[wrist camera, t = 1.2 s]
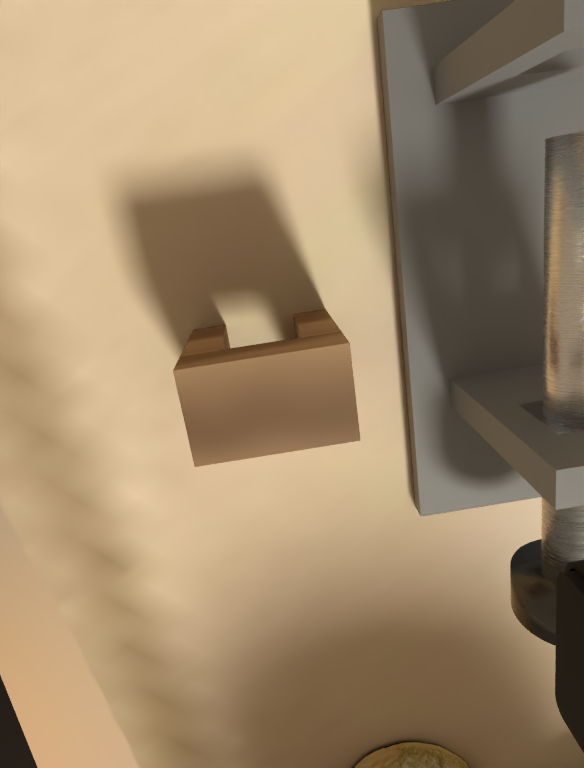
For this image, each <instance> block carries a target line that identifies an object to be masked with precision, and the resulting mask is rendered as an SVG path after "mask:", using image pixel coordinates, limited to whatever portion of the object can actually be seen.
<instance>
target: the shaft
mask: <svg viewBox="0 0 584 768" xmlns="http://www.w3.org/2000/svg"><path fill="white" fill-rule="evenodd" d="M543 423H544V424H545V425H546V426H548V427H549V428H551V429H552V430H553V431H555V432H556V433H557V434H563V433H569V432H576V431H582V430H584V131H582V132H576V133H571V134H566V135H560V136H556V137H551V138H547V139H545V184H544V307H543ZM578 560H584V505H583V506H577V507H571V508H565V509H559V510H555V509H554V508H553V507H552V506H551V505H550V504H549V503H548V502H547V501H546V500H545V499H544V498H543V497H542V539H541V540H536V541H533V542H530V543H528V544H525V545H524V546H522V547H520V548H519V549H518V550H517V551H516V552H515V553H514V555H513V557H512V559H511V605H512V609H513V612H514V614H515V615H516V617H517V619H518V620H519V621H520V623H521V624H522V625H523V626H524V627H525V628H526V629H528V630H529V631H530V632H531V633H533V634H534V635H535V636H537V637H539V638H540V639H542V640H544V641H546V642H548V643H550V644H553V645H555V646H556V590H557V576H558V574H559V573H563V572H565V566H566V565H567V563H569V562H572V561H578Z"/></svg>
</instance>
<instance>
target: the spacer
mask: <svg viewBox="0 0 584 768" xmlns="http://www.w3.org/2000/svg"><path fill="white" fill-rule="evenodd" d="M294 320H295V327H296V334H297V338H295V339H289V340H282V341H276V342H269V343H263V344H257V345H250V346H244V347H237V348H231V349H230V345H229V340H228V334H227V329H226V325H222V326H216V327H209V328H203V329H197V330H193V332H192V334H191V336H190V338H189V340H188V342H187V344H186V346H185V348H184V350H183V352H182V354H181V356H180V358H179V360H178V362H177V364H176V366H175V368H174V370H173V372H174V377H175V381H176V386H177V390H178V394H179V399H180V403H181V408H182V412H183V417H184V421H185V426H186V430H187V434H188V439H189V443H190V448H191V452H192V457H193V461H194V466H195V467H197V466H204V465H210V464H216V463H222V462H229V461H235V460H241V459H247V458H254V457H260V456H266V455H272V454H279V453H285V452H291V451H297V450H304V449H310V448H316V447H322V446H328V445H335V444H341V443H347V442H353V441H360V432H359V423H358V414H357V406H356V397H355V388H354V379H353V370H352V361H351V352H350V343H349V342H348V340H347V339H346V337H345V336H344V335H343V333H342V332H341V330H340V329H339V328H338V326H337V325H336V323H335V322H334V321H333V319H332V318H331V316H330V315H329V314H328V312H327V311H326V309H325V310H319V311H312V312H306V313H300V314H294Z"/></svg>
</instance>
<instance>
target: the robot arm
mask: <svg viewBox="0 0 584 768" xmlns="http://www.w3.org/2000/svg"><path fill="white" fill-rule="evenodd" d="M555 696H556V701H557V705H558V708H559V711H560V713H561V716H562V718H563V719H564V721H565V723H566V725H567V726H568V728H569V730H570V731H571V733H572V734H573V736H574V738H575V739H576V741H577V743H578V744H579V746H580V747H581V749H582V751H583V752H584V560H578V561H572V562H569V563H567V565H566V566H565V572H563V573H559V574H558V576H557V590H556V674H555ZM0 768H37V765H36V763H35V760H34V758H33V755H32V753H31V751H30V748H29V746H28V743H27V741H26V738H25V736H24V733H23V731H22V728H21V726H20V723H19V721H18V718H17V716H16V713H15V711H14V709H13V706H12V703H11V701H10V698H9V696H8V693H7V691H6V688H5V686H4V684H3V681H2V679H1V676H0Z"/></svg>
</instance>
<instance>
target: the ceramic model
mask: <svg viewBox="0 0 584 768" xmlns="http://www.w3.org/2000/svg"><path fill="white" fill-rule="evenodd" d="M354 768H469V767H468V765H467V764H466V762H465V761H464V760H462V759H461V758H460V757H458V756H457V755H455V754H454V753H451V752H450V751H448V750H447V749H444V748H442V747H440V746H436V745H432V744H427V743H416V742H411V743H408V742H407V743H400V744H397V745H393V746H390V747H387V748H382V749H380V750H377V751H375V752H373V753H371V754H370V755H368V756H366V757H365V758H364V759H362V760H361V761H360V762H359V763H358V764H357V765H356V766H355V767H354Z"/></svg>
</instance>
